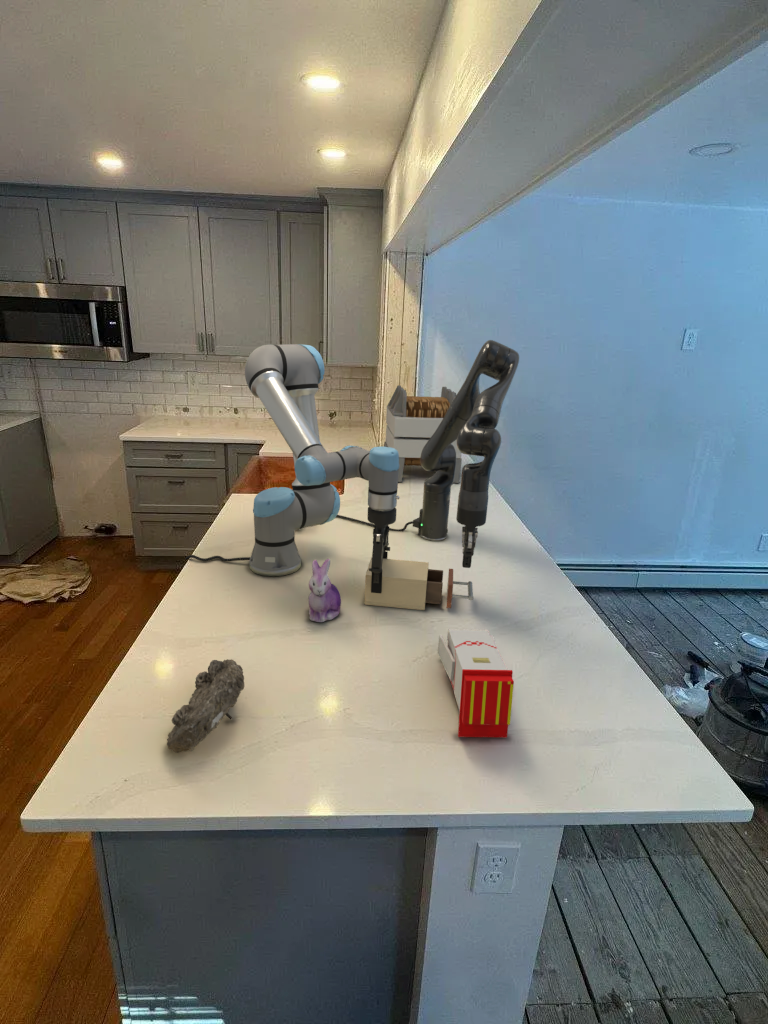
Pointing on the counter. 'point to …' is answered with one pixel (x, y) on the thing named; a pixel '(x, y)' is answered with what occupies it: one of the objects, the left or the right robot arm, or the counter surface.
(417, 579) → the cabinet
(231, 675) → the fossil
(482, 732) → the toy
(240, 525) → the counter surface
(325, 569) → the figurine
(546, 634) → the counter surface
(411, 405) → the white box
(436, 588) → the drawer
